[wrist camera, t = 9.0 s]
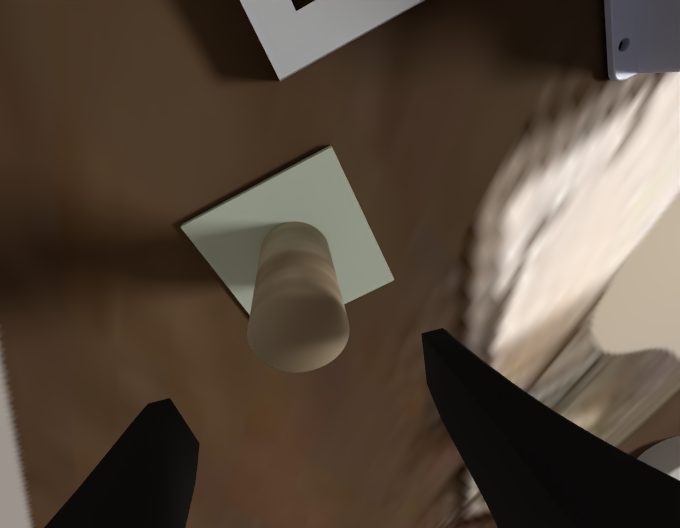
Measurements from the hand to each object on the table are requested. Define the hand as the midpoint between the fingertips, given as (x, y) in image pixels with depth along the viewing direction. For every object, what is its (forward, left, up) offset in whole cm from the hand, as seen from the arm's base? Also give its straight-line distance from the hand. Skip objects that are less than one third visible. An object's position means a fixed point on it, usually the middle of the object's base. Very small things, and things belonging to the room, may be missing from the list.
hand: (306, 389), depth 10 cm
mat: (0, 0, -9) cm, 9 cm away
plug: (0, 0, -9) cm, 9 cm away
